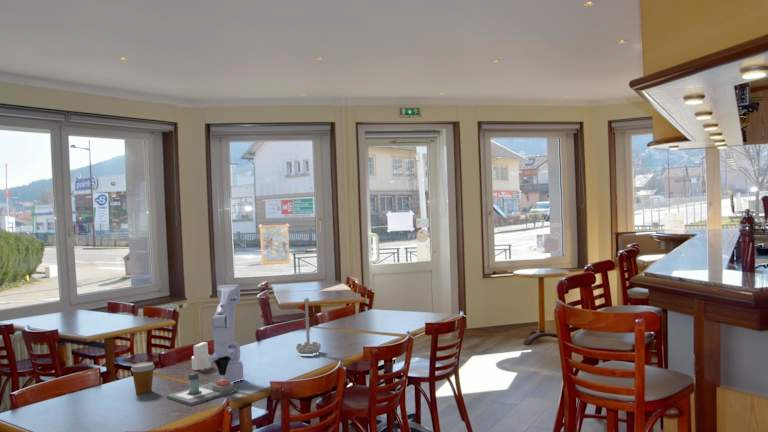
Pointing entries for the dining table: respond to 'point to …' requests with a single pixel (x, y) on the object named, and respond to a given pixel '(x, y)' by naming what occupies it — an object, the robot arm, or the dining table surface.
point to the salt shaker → (193, 383)
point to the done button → (222, 382)
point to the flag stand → (307, 347)
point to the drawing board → (201, 393)
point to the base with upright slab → (200, 356)
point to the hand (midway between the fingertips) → (222, 374)
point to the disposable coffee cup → (143, 377)
